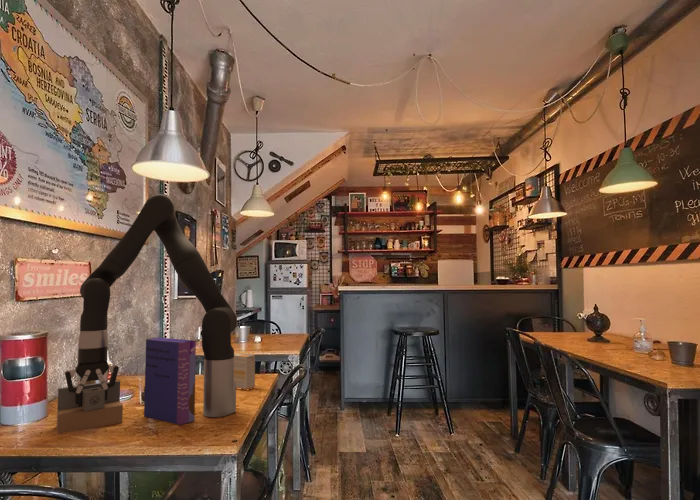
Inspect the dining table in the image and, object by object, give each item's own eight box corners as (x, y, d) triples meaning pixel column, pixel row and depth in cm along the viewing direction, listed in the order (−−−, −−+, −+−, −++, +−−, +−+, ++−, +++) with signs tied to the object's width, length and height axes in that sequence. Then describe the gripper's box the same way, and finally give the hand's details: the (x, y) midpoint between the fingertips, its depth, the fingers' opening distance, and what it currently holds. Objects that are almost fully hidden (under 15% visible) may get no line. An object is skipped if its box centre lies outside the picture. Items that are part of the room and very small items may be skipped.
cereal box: (194, 421, 129) (195, 340, 131) (181, 425, 125) (182, 342, 127) (157, 412, 138) (159, 336, 140) (144, 416, 134) (146, 338, 136)
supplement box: (255, 388, 169) (255, 354, 170) (246, 391, 164) (246, 356, 165) (240, 385, 173) (240, 352, 174) (231, 388, 169) (231, 354, 170)
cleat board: (118, 416, 134) (119, 380, 135) (122, 422, 128) (123, 384, 129) (56, 427, 125) (58, 388, 126) (57, 433, 119) (59, 393, 120)
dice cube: (104, 407, 125) (104, 389, 126) (84, 411, 122) (85, 393, 122) (99, 403, 129) (100, 386, 129) (80, 407, 125) (81, 390, 126)
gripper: (118, 342, 135) (116, 397, 134) (63, 346, 127) (61, 405, 125) (122, 344, 129) (120, 402, 128) (65, 349, 121) (62, 411, 119)
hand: (91, 403), depth 126 cm, fingers closed on dice cube, 5 cm apart
